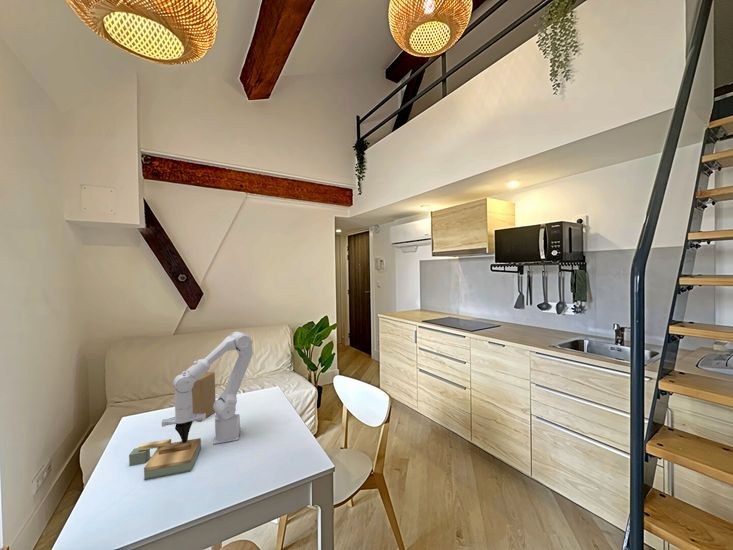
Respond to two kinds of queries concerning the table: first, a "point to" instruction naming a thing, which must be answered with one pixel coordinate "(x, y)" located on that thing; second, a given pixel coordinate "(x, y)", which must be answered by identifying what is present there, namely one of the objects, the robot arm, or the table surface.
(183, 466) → the green piece
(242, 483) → the table surface
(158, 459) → the lid
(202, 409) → the wooden block
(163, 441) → the light wooden bar
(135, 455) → the block
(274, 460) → the table surface
